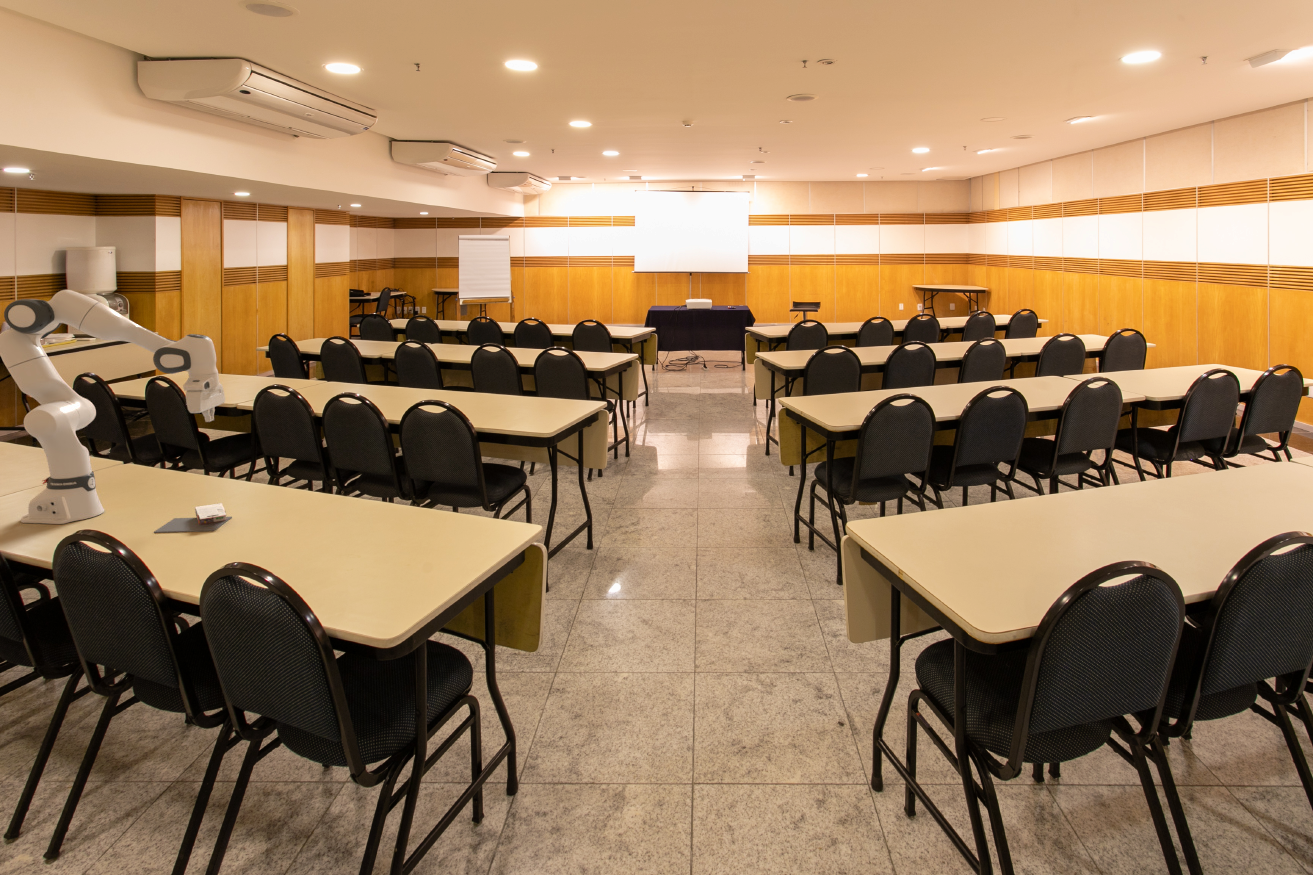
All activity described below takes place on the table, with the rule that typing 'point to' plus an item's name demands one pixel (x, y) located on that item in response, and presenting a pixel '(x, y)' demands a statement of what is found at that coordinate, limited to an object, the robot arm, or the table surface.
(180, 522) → the mat
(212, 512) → the ink box
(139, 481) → the table surface
